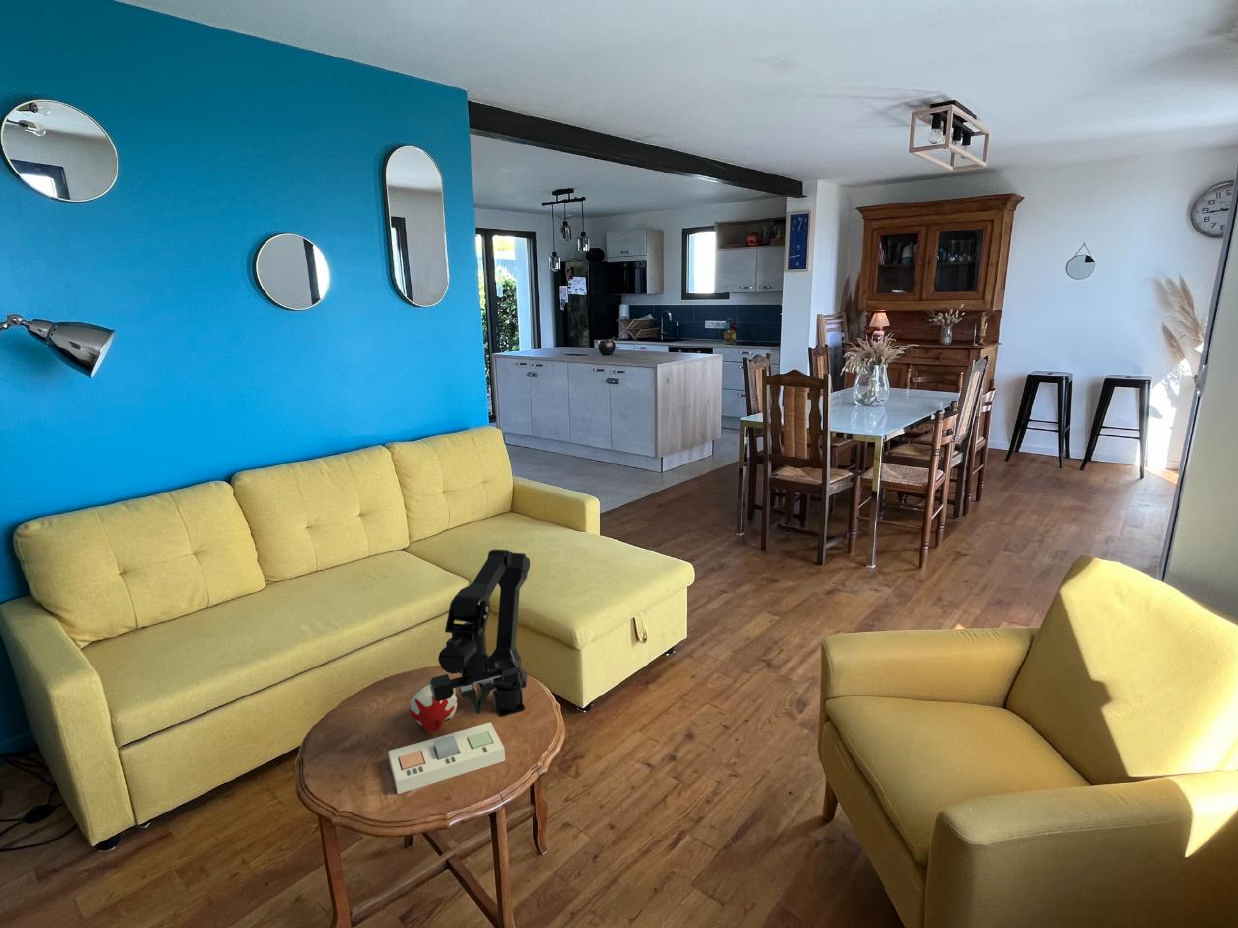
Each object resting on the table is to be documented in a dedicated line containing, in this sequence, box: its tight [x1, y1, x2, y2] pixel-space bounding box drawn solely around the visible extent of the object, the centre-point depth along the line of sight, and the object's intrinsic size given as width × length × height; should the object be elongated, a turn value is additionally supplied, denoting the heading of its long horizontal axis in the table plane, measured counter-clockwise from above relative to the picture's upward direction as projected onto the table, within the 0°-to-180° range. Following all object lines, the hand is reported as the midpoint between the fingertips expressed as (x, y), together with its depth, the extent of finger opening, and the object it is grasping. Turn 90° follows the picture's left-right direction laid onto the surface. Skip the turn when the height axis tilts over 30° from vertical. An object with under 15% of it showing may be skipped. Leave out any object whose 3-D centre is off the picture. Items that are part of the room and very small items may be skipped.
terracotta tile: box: [399, 751, 424, 771], centre depth 148 cm, size 4×4×2 cm
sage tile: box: [468, 731, 492, 750], centre depth 154 cm, size 4×4×2 cm
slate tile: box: [434, 736, 459, 760], centre depth 151 cm, size 4×4×2 cm
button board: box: [388, 722, 506, 795], centre depth 151 cm, size 23×11×3 cm, turn 116°
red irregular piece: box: [409, 684, 458, 734], centre depth 165 cm, size 9×11×15 cm
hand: (477, 713), depth 153 cm, fingers closed
